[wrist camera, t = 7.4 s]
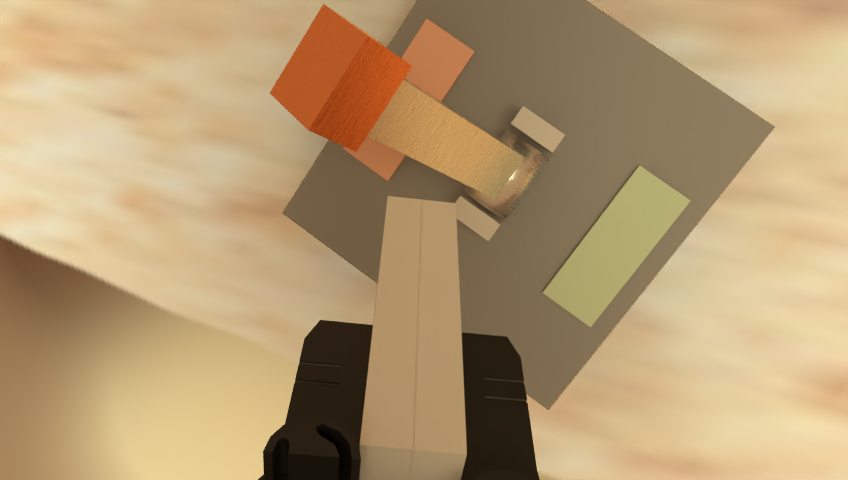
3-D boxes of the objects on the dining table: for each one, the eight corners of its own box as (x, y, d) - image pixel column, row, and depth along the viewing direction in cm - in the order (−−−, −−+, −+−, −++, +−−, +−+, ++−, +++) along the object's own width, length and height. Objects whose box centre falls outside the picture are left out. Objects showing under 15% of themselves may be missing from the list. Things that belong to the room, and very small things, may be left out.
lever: (521, 138, 34) (323, 4, 23) (560, 165, 33) (367, 35, 21) (481, 195, 35) (269, 93, 24) (516, 225, 34) (308, 130, 22)
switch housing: (479, -49, 38) (460, -98, 31) (746, 130, 37) (793, 124, 29) (314, 206, 42) (262, 217, 35) (549, 379, 41) (547, 429, 33)
